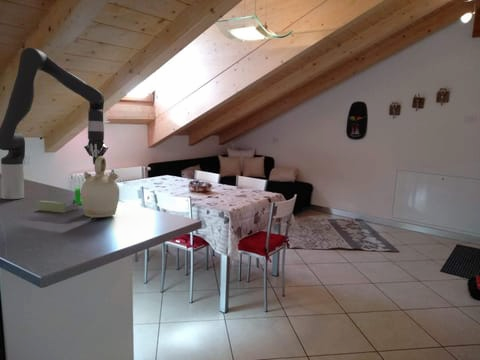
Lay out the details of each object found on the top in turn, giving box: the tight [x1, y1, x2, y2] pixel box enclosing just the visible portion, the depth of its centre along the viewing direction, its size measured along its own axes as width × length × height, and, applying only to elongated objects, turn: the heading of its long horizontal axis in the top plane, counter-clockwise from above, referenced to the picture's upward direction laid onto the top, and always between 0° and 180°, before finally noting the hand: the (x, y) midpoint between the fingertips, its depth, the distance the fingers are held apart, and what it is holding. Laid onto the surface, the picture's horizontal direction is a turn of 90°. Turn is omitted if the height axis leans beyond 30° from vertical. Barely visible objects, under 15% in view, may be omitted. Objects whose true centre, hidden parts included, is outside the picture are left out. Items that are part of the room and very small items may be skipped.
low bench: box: [38, 200, 79, 214], centre depth 155 cm, size 13×9×4 cm
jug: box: [80, 156, 120, 218], centre depth 147 cm, size 15×16×25 cm
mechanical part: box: [73, 187, 82, 206], centre depth 173 cm, size 12×6×8 cm, turn 28°
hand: (96, 164), depth 177 cm, fingers closed
